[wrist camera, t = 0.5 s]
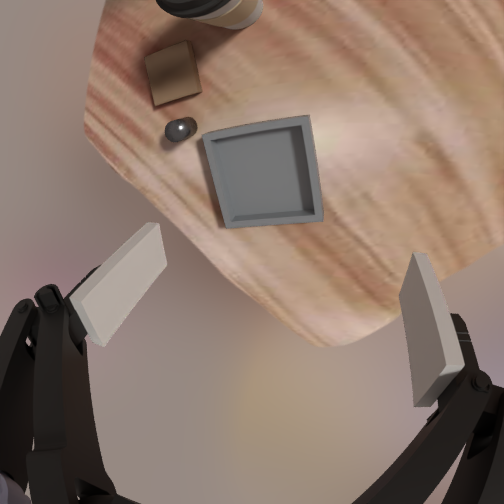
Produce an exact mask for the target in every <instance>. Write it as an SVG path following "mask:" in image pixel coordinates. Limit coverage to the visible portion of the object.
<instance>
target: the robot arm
mask: <svg viewBox="0 0 504 504" xmlns="http://www.w3.org/2000/svg"><path fill="white" fill-rule="evenodd" d="M166 266H167V261H166V256H165V251H164V247H163V242H162V237H161V232H160V227H159V223H150V222H147V223H146V224H145V225H144V226H143V227H142V228H140V229H139V230H138V231H137V232H136V233H135V234H134V235H133V236H132V237H131V238H129V239H128V240H127V241H126V242H125V243H124V244H123V245H122V246H121V247H120V248H119V249H118V250H117V251H115V252H114V253H113V255H111V256H110V257H109V258H108V259H107V260H106V261H105V262H104V263H103V264H102V265H100V266H98V267H96V268H94V269H93V270H92V271H90V272H89V273H88V275H86V278H83V279H82V280H81V283H78V284H77V285H76V286H75V287H74V289H73V290H72V291H71V292H70V293H69V294H68V295H67V296H66V297H65V298H64V299H63V297H62V295H61V293H60V291H59V289H58V287H57V286H56V285H54V284H49V285H46V286H43V287H42V288H41V289H39V290H38V291H37V292H36V293H35V296H34V298H35V300H36V302H37V304H38V306H39V307H36V306H35V304H34V302H33V301H32V300H31V299H23V300H21V301H20V302H19V303H18V304H16V306H15V307H14V309H13V311H12V313H11V315H10V317H9V319H8V321H7V323H6V325H5V327H4V330H3V332H2V334H1V336H0V504H31V500H32V504H140V503H137V502H135V501H132V500H130V499H127V498H125V497H123V496H120V495H118V494H117V493H116V489H115V487H114V484H113V482H112V480H111V479H110V478H109V476H108V475H107V473H106V471H105V469H104V465H103V461H102V456H101V452H100V447H99V442H98V438H97V432H96V427H95V421H94V415H93V408H92V400H91V393H90V383H89V373H88V360H87V344H86V340H85V339H84V338H85V336H86V335H87V334H88V335H89V337H90V339H91V340H92V342H93V343H96V344H98V345H101V346H103V347H104V346H105V345H106V344H107V342H108V341H109V340H110V338H111V337H112V336H113V334H114V333H115V331H116V330H117V329H118V327H119V326H120V325H121V323H122V322H123V321H124V320H125V318H126V317H127V316H128V314H129V313H130V312H131V310H132V309H133V308H134V306H135V305H136V304H137V302H138V301H139V300H140V299H141V297H142V296H143V295H144V294H145V292H146V291H147V290H148V288H149V287H150V286H151V284H152V283H153V282H154V281H155V280H156V278H157V277H158V276H159V275H160V273H161V272H162V271H163V270H164V268H165V267H166ZM399 300H400V305H401V310H402V315H403V321H404V327H405V332H406V339H407V346H408V353H409V361H410V369H411V377H412V378H411V379H412V389H413V402H414V407H431V406H432V405H433V403H434V402H435V401H436V400H438V409H437V410H436V411H435V412H434V413H433V414H432V415H431V416H430V417H429V418H428V419H427V423H426V424H425V426H424V427H423V428H422V429H421V431H420V432H419V433H418V435H417V436H416V437H415V438H414V440H413V441H412V442H411V443H410V444H409V446H408V447H407V448H406V449H405V450H404V452H403V453H402V454H401V455H400V456H399V457H398V458H397V459H396V461H395V462H394V463H393V464H392V465H391V466H390V467H389V468H388V469H387V470H386V471H385V472H384V474H383V475H382V476H380V477H379V479H377V481H376V482H374V483H373V484H372V485H371V486H370V487H369V488H368V489H367V490H366V491H365V492H364V493H363V494H362V495H361V496H360V497H358V498H357V499H356V500H355V501H354V502H353V503H352V504H423V503H424V502H425V501H426V499H427V498H428V497H429V495H430V494H431V493H432V492H433V491H434V489H435V488H436V486H437V485H438V484H439V483H440V481H441V480H442V479H443V477H444V476H445V474H446V473H447V472H448V470H449V469H450V467H451V466H452V464H453V463H454V461H455V460H456V458H457V457H458V455H459V453H460V452H461V450H462V448H463V447H464V445H465V444H466V446H465V448H464V452H463V455H462V457H461V460H460V462H459V465H458V468H457V470H456V473H455V475H454V477H453V480H452V482H451V484H450V487H449V489H448V491H447V493H446V495H445V497H444V499H443V502H442V503H441V504H504V388H502V387H499V386H496V385H493V384H492V381H491V379H490V377H489V376H488V375H487V374H486V373H485V372H483V371H481V370H480V369H479V366H478V362H477V359H476V355H475V352H474V349H473V345H472V342H471V339H470V336H469V334H468V330H467V327H466V324H465V322H464V321H463V319H462V318H461V317H460V316H459V314H452V313H451V314H450V313H449V309H448V307H447V304H446V301H445V298H444V295H443V292H442V290H441V287H440V285H439V282H438V279H437V277H436V274H435V272H434V269H433V267H432V265H431V262H430V260H429V258H428V255H427V254H426V253H419V252H413V254H412V257H411V260H410V264H409V267H408V270H407V273H406V276H405V279H404V282H403V285H402V288H401V291H400V293H399ZM27 337H28V338H29V340H30V341H31V344H30V346H28V345H27V343H26V339H27ZM33 439H34V450H33V451H32V445H33ZM466 442H467V443H466ZM28 482H29V489H30V495H31V500H30V498H29V497H28V496H27V495H25V491H26V488H27V483H28ZM77 496H78V497H79V498H80V500H78V498H77Z"/></svg>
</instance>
